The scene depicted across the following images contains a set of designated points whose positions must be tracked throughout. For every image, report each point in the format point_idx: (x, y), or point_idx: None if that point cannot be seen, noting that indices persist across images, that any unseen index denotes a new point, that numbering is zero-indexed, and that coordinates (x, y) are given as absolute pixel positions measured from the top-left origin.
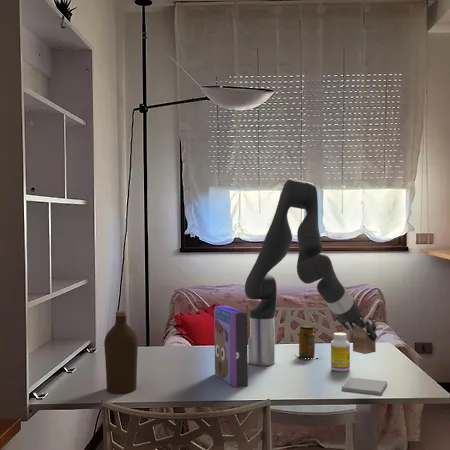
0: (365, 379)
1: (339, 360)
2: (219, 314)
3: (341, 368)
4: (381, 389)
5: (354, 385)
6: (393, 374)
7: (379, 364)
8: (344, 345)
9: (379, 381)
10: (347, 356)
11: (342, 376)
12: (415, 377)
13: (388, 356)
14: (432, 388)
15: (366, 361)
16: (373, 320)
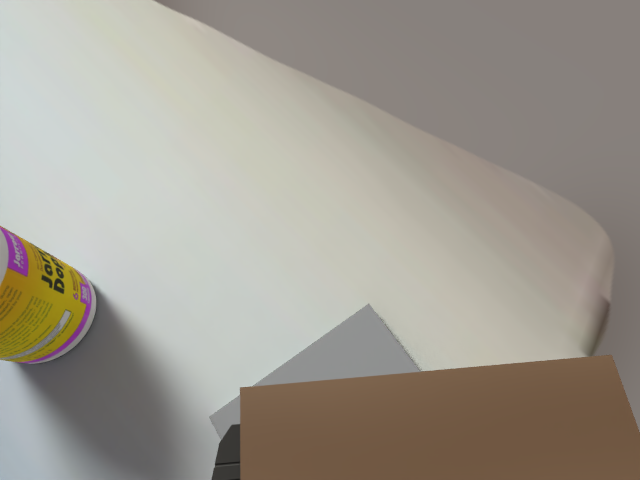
0: (288, 373)
1: (34, 340)
2: None
3: (73, 339)
4: None
5: None
6: (270, 173)
7: (131, 115)
8: None
9: (353, 337)
10: (51, 285)
11: (138, 397)
12: (352, 137)
13: (84, 17)
14: (501, 193)
15: (61, 124)
16: (576, 380)
